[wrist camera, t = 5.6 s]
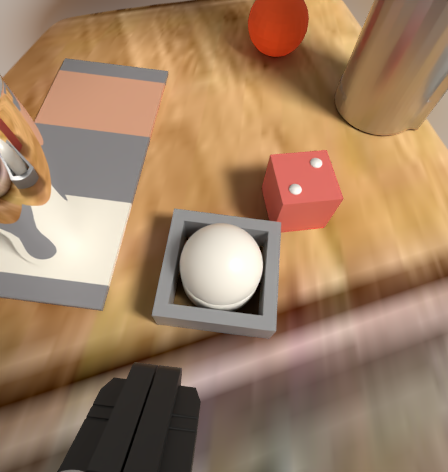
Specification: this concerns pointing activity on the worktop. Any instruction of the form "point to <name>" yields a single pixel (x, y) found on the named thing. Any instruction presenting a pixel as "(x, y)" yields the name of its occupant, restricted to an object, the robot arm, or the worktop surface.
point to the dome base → (212, 319)
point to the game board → (89, 175)
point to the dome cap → (221, 267)
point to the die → (301, 190)
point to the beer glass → (33, 191)
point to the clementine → (278, 25)
